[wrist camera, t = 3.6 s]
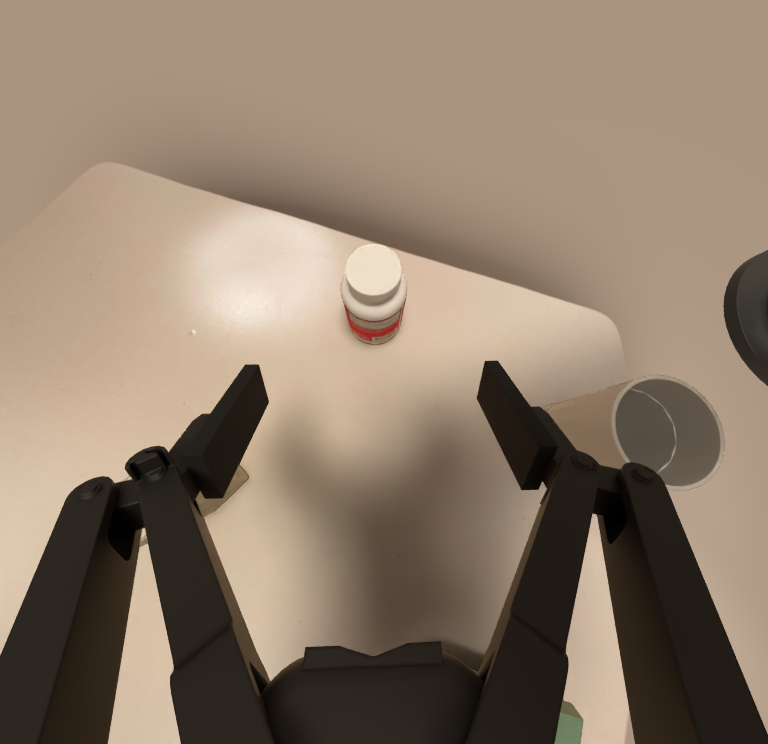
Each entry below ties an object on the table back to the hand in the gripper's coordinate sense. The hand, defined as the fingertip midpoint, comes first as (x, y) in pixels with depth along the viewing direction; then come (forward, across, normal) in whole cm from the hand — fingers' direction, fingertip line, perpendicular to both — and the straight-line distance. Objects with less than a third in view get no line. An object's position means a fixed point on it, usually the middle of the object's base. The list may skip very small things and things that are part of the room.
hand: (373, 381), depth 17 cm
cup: (+9, +21, -13) cm, 26 cm away
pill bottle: (+18, 0, -4) cm, 18 cm away
